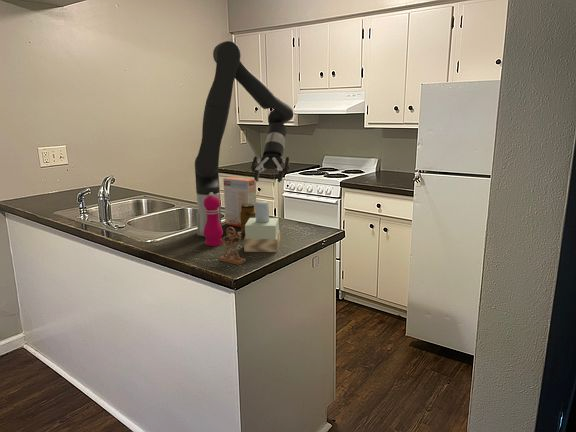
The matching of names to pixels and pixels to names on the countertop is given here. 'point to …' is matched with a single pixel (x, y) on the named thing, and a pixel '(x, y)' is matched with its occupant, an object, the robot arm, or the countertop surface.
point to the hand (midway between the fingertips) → (267, 180)
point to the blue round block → (262, 212)
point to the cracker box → (237, 198)
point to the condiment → (246, 216)
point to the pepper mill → (212, 221)
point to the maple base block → (262, 244)
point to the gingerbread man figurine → (227, 256)
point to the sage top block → (261, 229)
